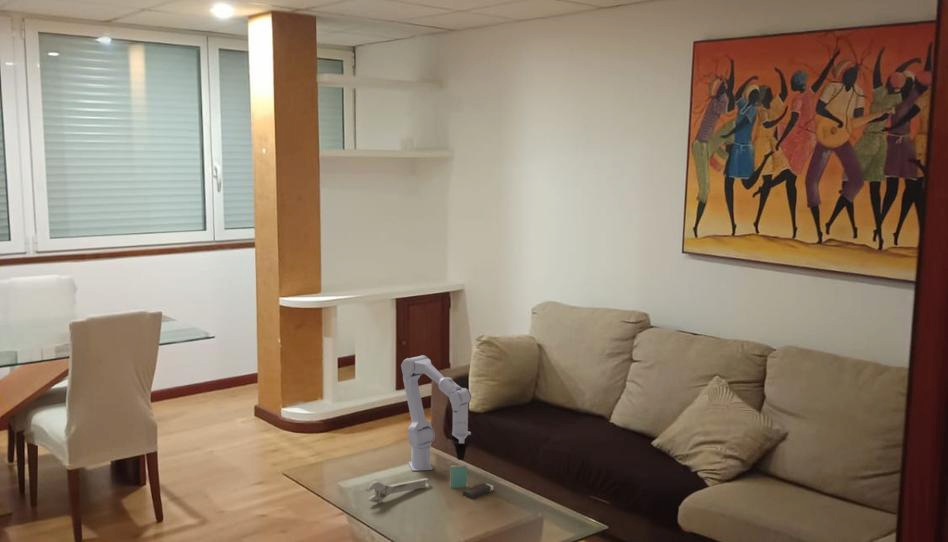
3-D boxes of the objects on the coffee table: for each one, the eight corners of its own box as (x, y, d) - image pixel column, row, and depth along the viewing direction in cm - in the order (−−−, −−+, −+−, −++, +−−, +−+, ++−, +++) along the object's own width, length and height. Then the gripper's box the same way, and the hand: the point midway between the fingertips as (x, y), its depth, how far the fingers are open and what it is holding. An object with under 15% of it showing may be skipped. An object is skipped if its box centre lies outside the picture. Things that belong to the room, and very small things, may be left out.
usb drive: (462, 496, 295) (462, 489, 295) (484, 488, 304) (485, 480, 303) (473, 500, 291) (473, 493, 291) (495, 492, 300) (495, 484, 300)
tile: (449, 486, 303) (450, 465, 302) (465, 485, 305) (465, 464, 304) (450, 487, 302) (451, 467, 301) (466, 486, 303) (466, 466, 302)
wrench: (429, 493, 303) (367, 506, 281) (426, 492, 304) (363, 505, 282) (431, 472, 303) (369, 483, 281) (428, 471, 304) (366, 482, 282)
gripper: (472, 426, 299) (472, 462, 301) (468, 415, 314) (468, 449, 315) (453, 426, 299) (453, 462, 300) (450, 415, 313) (450, 450, 314)
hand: (459, 456), depth 307 cm, fingers open, 7 cm apart
